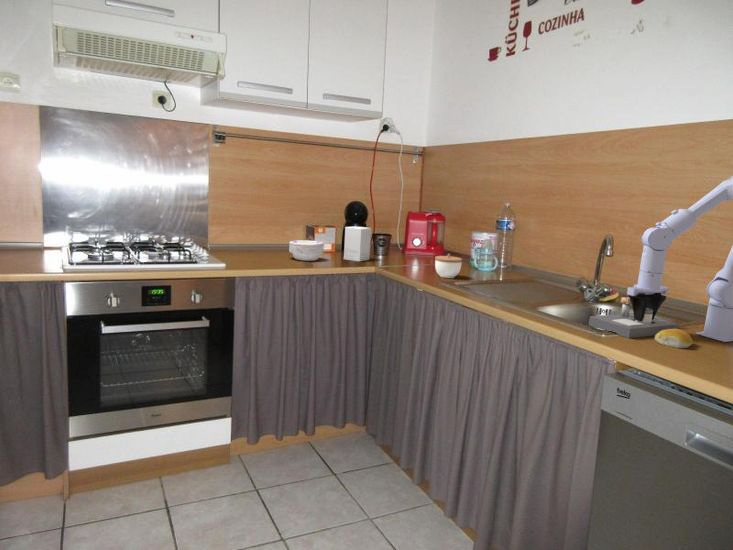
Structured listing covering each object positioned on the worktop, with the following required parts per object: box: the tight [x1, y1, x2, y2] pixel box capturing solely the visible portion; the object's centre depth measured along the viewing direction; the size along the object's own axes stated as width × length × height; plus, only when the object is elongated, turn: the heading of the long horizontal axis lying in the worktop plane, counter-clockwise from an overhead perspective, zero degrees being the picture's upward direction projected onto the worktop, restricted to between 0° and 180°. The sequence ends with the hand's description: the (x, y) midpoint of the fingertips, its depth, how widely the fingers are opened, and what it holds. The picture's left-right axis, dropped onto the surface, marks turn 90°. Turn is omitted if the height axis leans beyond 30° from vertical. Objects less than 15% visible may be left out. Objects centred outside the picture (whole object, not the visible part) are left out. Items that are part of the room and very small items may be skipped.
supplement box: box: [343, 226, 372, 262], centre depth 248 cm, size 9×9×15 cm
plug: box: [635, 308, 653, 324], centre depth 150 cm, size 4×4×6 cm
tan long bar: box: [620, 296, 632, 305], centre depth 156 cm, size 12×3×2 cm, turn 112°
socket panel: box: [588, 303, 679, 339], centre depth 151 cm, size 20×13×6 cm, turn 117°
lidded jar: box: [434, 253, 463, 279], centre depth 217 cm, size 11×11×9 cm
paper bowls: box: [288, 239, 325, 262], centre depth 239 cm, size 15×15×8 cm
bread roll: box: [654, 328, 694, 349], centre depth 139 cm, size 8×9×4 cm
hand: (643, 319), depth 150 cm, fingers closed on plug, 4 cm apart
